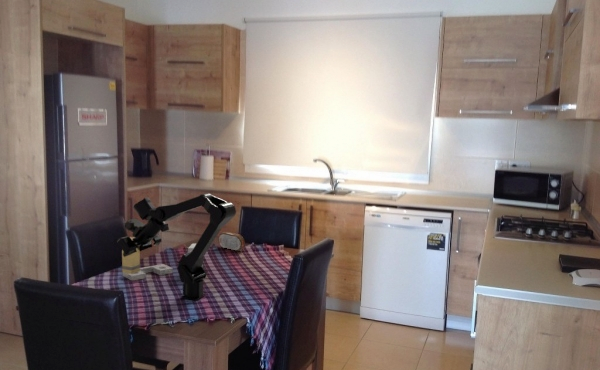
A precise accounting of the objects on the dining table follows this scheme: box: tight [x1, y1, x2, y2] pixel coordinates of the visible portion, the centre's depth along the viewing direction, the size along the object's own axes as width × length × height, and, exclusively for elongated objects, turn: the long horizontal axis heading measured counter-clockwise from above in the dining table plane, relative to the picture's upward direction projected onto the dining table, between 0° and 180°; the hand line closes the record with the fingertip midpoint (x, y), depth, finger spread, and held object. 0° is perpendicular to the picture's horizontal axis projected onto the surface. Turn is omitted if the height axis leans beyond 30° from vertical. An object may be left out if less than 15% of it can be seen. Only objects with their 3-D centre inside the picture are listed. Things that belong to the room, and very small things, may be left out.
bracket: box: [122, 263, 174, 282], centre depth 216 cm, size 8×18×2 cm, turn 134°
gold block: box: [121, 236, 141, 274], centre depth 202 cm, size 5×5×13 cm
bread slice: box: [218, 231, 246, 252], centre depth 261 cm, size 15×3×8 cm, turn 58°
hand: (128, 254), depth 203 cm, fingers closed on gold block, 4 cm apart
